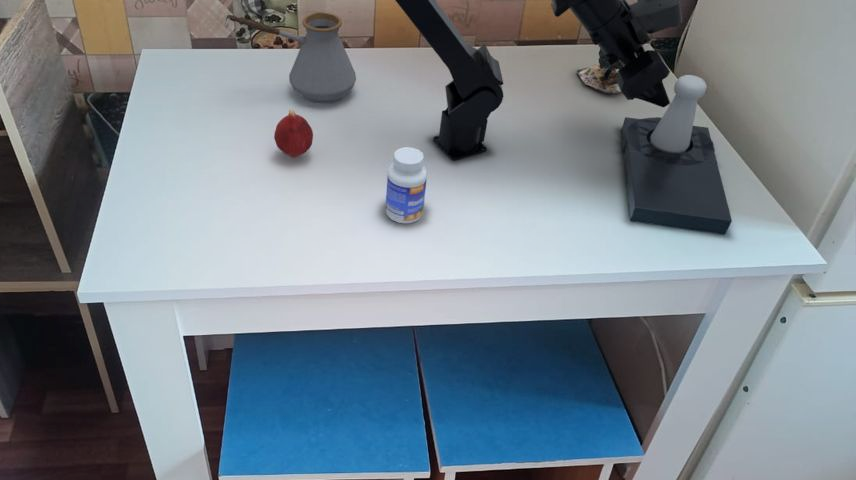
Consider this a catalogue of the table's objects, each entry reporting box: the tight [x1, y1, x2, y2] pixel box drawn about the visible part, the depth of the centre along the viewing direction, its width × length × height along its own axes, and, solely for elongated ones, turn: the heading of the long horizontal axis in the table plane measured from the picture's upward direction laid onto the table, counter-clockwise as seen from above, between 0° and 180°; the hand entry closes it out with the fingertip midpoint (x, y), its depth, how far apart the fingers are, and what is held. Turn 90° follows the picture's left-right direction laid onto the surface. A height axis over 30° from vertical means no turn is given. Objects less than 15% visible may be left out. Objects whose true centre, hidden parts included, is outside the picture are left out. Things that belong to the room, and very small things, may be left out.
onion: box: [273, 109, 314, 158], centre depth 110 cm, size 6×6×8 cm
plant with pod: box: [576, 47, 627, 95], centre depth 124 cm, size 8×11×20 cm
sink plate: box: [620, 116, 733, 235], centre depth 111 cm, size 25×13×2 cm, turn 168°
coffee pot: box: [224, 11, 357, 104], centre depth 121 cm, size 21×12×15 cm, turn 102°
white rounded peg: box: [650, 74, 707, 154], centre depth 112 cm, size 6×6×13 cm
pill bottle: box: [384, 146, 428, 224], centre depth 101 cm, size 5×5×10 cm
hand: (658, 88), depth 108 cm, fingers open, 9 cm apart
